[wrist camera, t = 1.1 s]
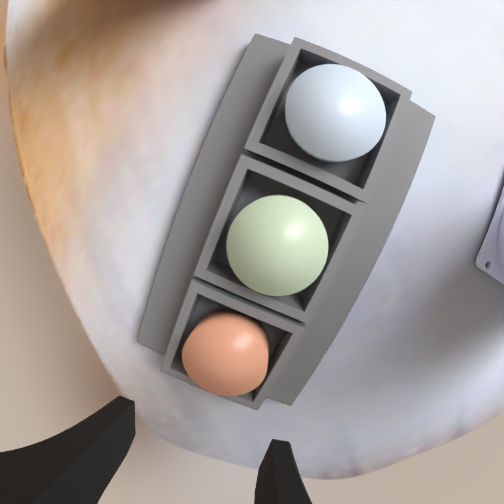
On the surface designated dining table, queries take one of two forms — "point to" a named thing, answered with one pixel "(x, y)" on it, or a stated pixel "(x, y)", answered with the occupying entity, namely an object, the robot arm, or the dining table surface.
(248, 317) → the terracotta button
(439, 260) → the dining table surface
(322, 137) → the pale blue button
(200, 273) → the button panel
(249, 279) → the sage button
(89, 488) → the robot arm
